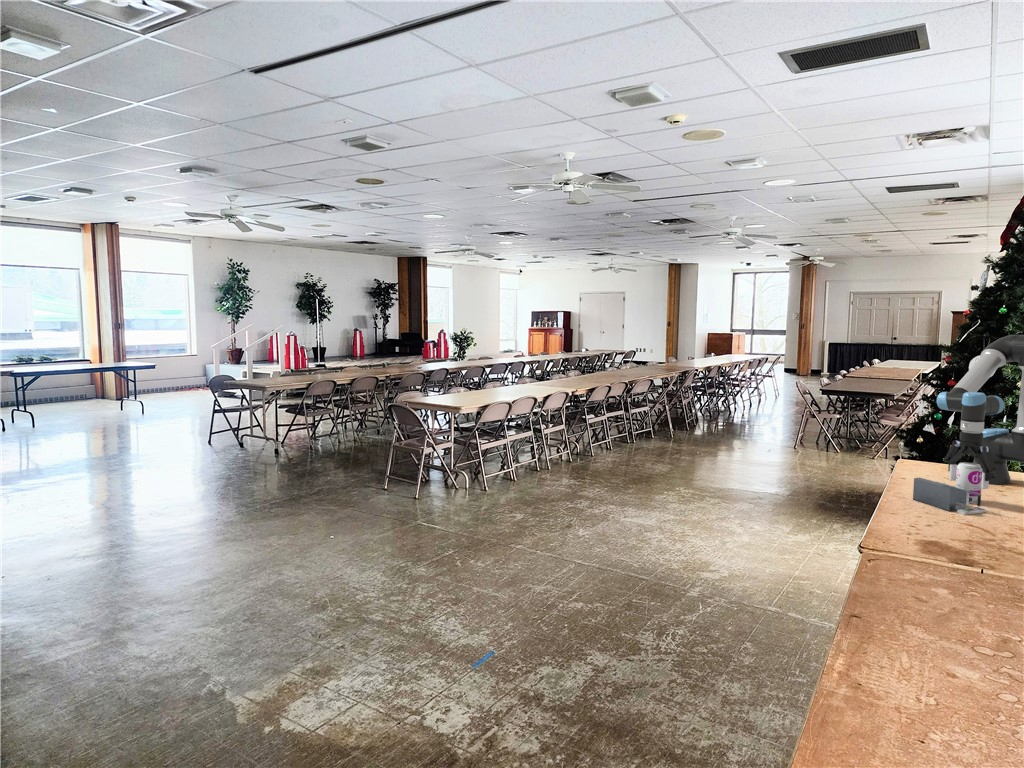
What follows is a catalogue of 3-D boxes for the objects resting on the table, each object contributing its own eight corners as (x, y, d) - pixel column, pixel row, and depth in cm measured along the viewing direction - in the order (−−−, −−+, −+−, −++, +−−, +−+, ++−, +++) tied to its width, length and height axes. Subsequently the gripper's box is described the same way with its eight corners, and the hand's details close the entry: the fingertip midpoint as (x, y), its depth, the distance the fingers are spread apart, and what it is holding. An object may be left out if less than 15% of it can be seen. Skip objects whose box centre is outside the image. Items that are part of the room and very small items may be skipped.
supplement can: (985, 504, 251) (987, 466, 249) (964, 504, 251) (966, 466, 249) (971, 498, 259) (973, 461, 257) (950, 498, 259) (952, 462, 258)
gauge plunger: (936, 495, 260) (936, 481, 259) (980, 509, 241) (981, 493, 241) (933, 496, 259) (934, 481, 259) (978, 509, 241) (979, 494, 240)
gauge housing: (935, 497, 261) (936, 475, 260) (985, 512, 241) (986, 489, 240) (912, 499, 258) (913, 478, 257) (961, 515, 238) (962, 491, 237)
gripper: (935, 426, 263) (932, 477, 265) (995, 437, 239) (991, 493, 241) (950, 426, 265) (947, 476, 267) (1010, 436, 241) (1006, 491, 243)
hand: (968, 484), depth 254 cm, fingers open, 13 cm apart
